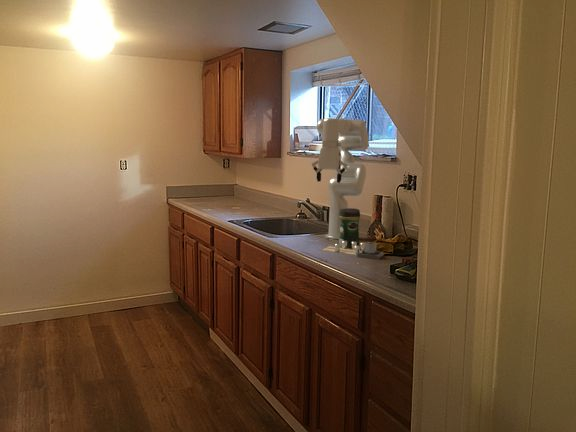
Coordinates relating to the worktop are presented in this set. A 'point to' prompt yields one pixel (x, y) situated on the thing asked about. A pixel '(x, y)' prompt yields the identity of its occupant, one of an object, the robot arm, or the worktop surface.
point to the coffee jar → (349, 226)
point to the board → (347, 251)
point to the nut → (370, 248)
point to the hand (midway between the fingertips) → (328, 181)
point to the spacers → (354, 247)
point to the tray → (363, 255)
